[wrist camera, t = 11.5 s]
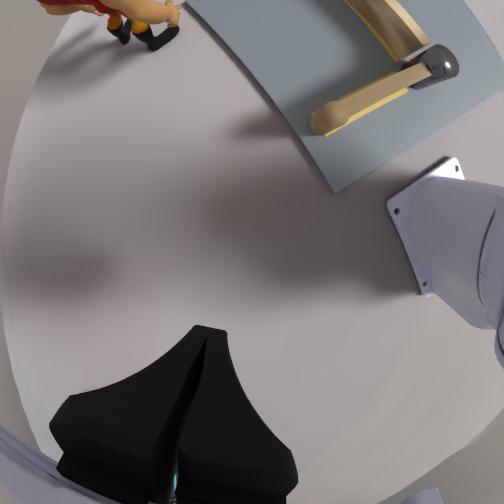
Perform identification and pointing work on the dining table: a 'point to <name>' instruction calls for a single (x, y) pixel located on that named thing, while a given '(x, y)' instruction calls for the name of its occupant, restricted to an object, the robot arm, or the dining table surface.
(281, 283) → the dining table surface
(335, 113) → the fixed fence section
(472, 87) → the board
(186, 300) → the dining table surface
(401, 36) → the tan piece
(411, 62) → the hinge post
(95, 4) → the action figure
